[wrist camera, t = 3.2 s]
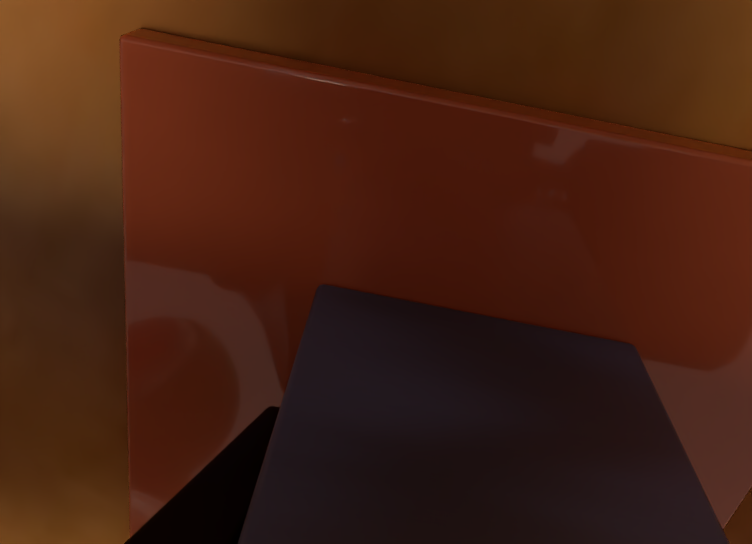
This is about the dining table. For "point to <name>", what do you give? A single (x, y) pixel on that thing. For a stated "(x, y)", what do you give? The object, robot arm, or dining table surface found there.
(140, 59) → the terracotta tile
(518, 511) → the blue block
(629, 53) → the dining table surface
